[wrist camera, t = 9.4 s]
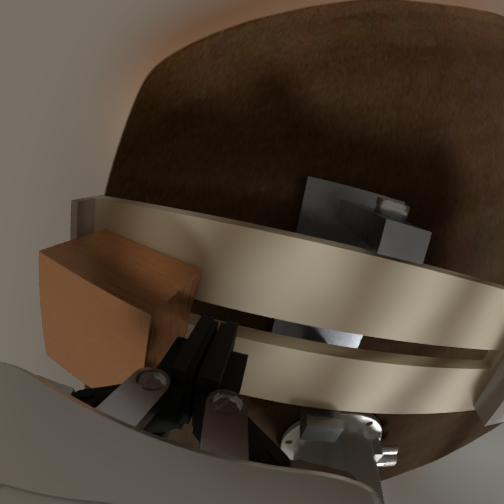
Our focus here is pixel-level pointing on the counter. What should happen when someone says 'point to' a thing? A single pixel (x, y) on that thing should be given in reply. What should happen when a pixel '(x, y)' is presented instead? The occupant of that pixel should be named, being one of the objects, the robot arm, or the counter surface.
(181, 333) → the block
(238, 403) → the robot arm
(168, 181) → the counter surface
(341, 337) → the pivot stand
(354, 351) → the beam
